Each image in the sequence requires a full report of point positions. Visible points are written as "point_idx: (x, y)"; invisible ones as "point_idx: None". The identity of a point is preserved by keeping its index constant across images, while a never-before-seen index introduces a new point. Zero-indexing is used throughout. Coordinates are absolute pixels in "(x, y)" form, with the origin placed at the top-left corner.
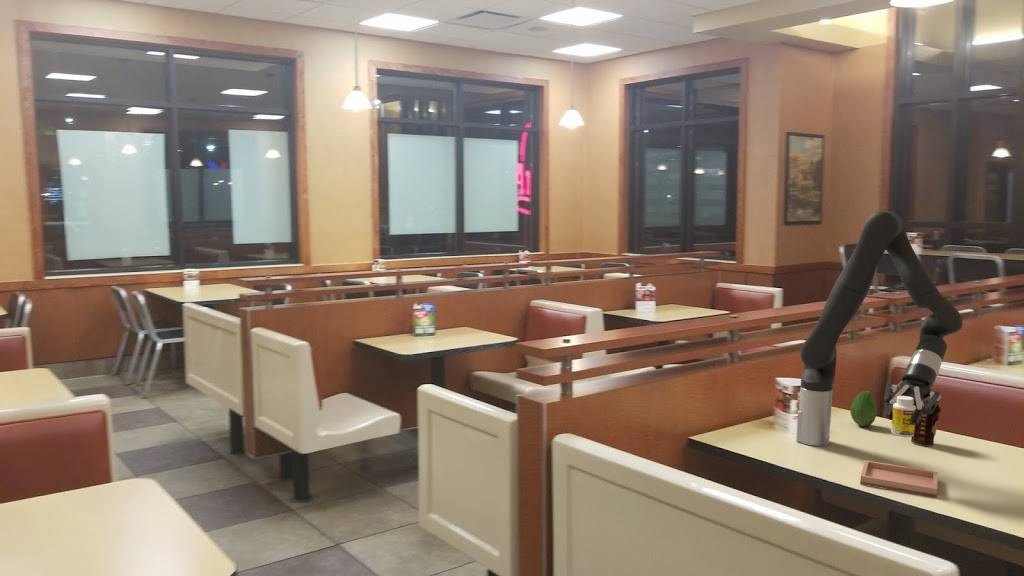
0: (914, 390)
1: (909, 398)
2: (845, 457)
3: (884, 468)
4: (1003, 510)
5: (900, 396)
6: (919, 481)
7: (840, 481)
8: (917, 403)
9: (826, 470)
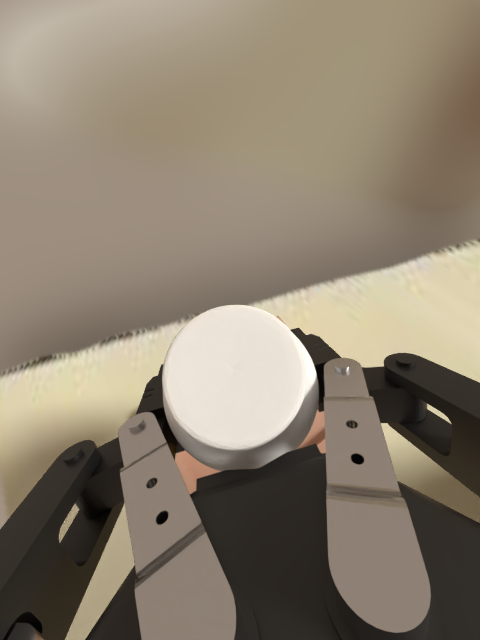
0: (208, 545)
1: (194, 379)
2: None
3: (317, 442)
4: (28, 488)
5: (284, 365)
6: None
7: (304, 300)
8: (157, 446)
9: (367, 321)
